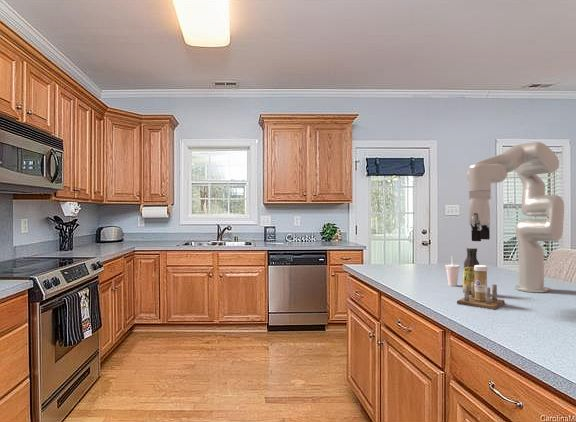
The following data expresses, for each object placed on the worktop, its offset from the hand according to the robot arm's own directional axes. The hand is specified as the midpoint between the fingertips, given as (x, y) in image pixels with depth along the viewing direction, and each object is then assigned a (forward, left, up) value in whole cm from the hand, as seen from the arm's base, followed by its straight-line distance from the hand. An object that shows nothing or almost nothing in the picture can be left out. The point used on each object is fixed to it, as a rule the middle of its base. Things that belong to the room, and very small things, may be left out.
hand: (480, 240), depth 147 cm
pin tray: (+1, 0, -24) cm, 24 cm away
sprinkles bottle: (0, 0, -23) cm, 23 cm away
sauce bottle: (-15, -9, -25) cm, 31 cm away
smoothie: (-28, -22, -25) cm, 44 cm away
